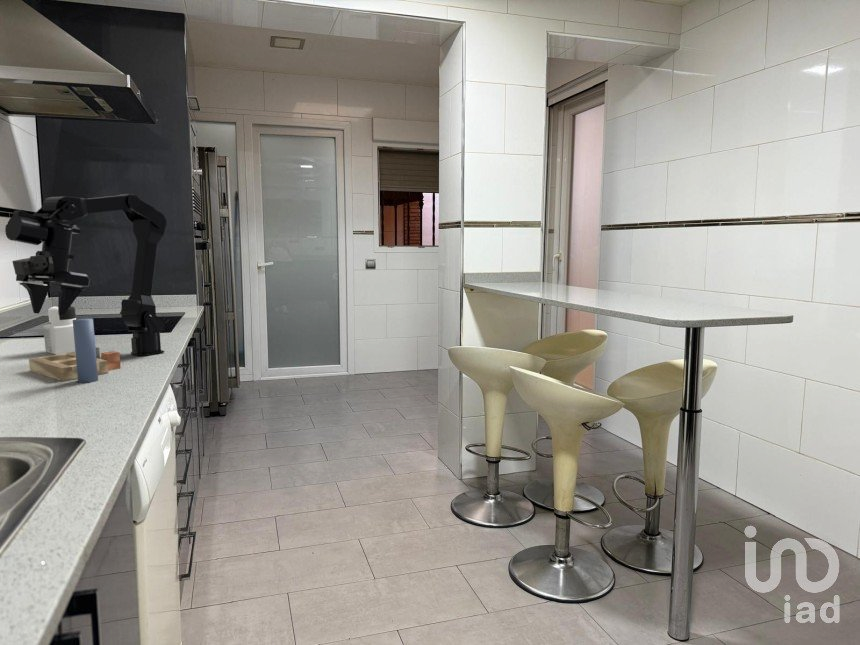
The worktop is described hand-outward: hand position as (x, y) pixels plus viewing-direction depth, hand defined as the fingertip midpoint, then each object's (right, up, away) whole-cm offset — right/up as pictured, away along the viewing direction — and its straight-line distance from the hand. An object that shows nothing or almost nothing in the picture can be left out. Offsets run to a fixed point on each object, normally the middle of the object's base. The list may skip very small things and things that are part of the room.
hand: (48, 314), depth 143 cm
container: (-13, -10, +29) cm, 34 cm away
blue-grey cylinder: (+12, -15, -5) cm, 20 cm away
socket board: (+4, -14, +5) cm, 15 cm away
